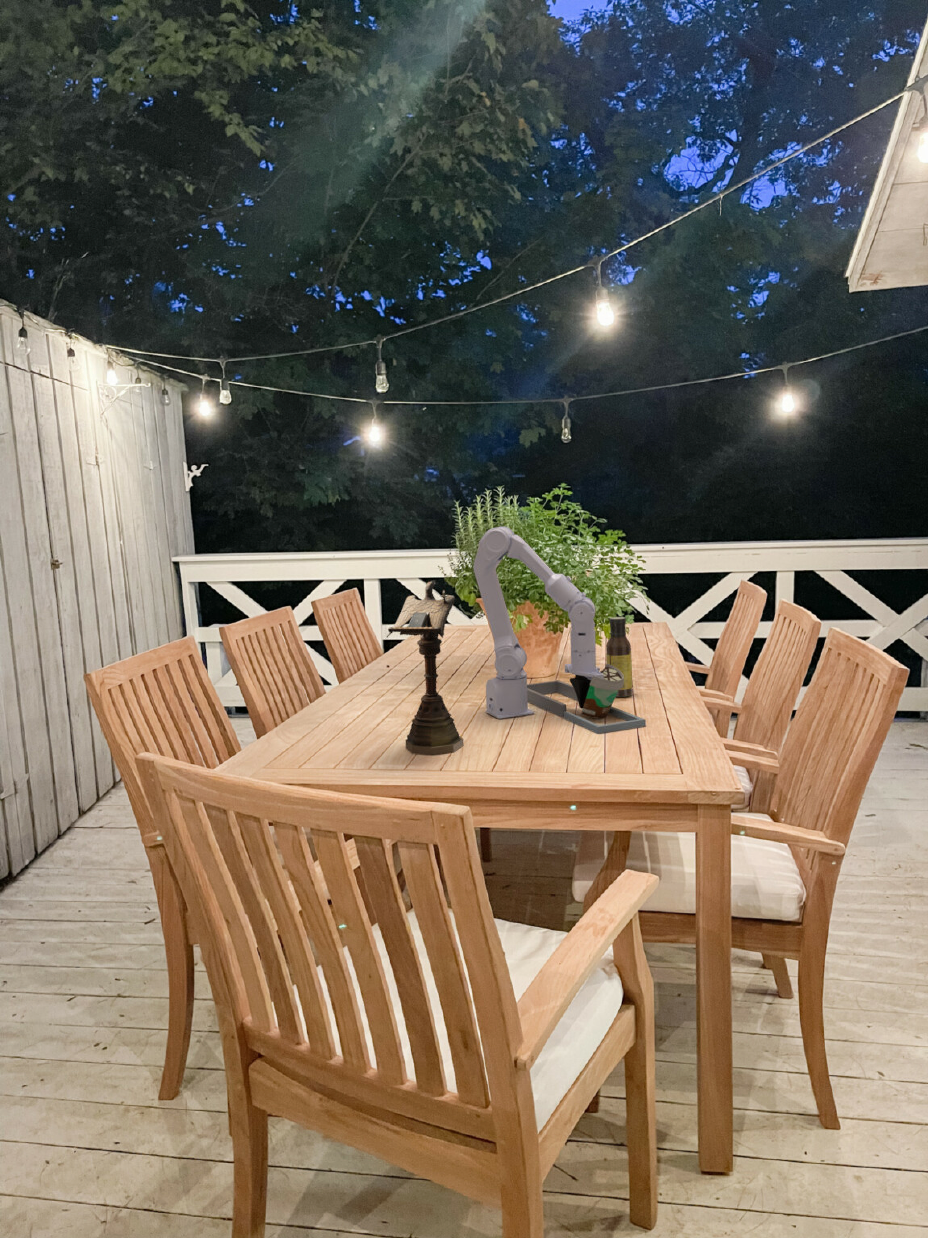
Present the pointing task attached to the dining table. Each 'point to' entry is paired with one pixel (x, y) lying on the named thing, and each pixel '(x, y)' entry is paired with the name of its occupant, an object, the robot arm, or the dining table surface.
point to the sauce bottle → (620, 653)
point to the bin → (547, 703)
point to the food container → (603, 692)
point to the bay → (630, 723)
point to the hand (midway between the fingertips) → (584, 707)
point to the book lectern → (429, 674)
